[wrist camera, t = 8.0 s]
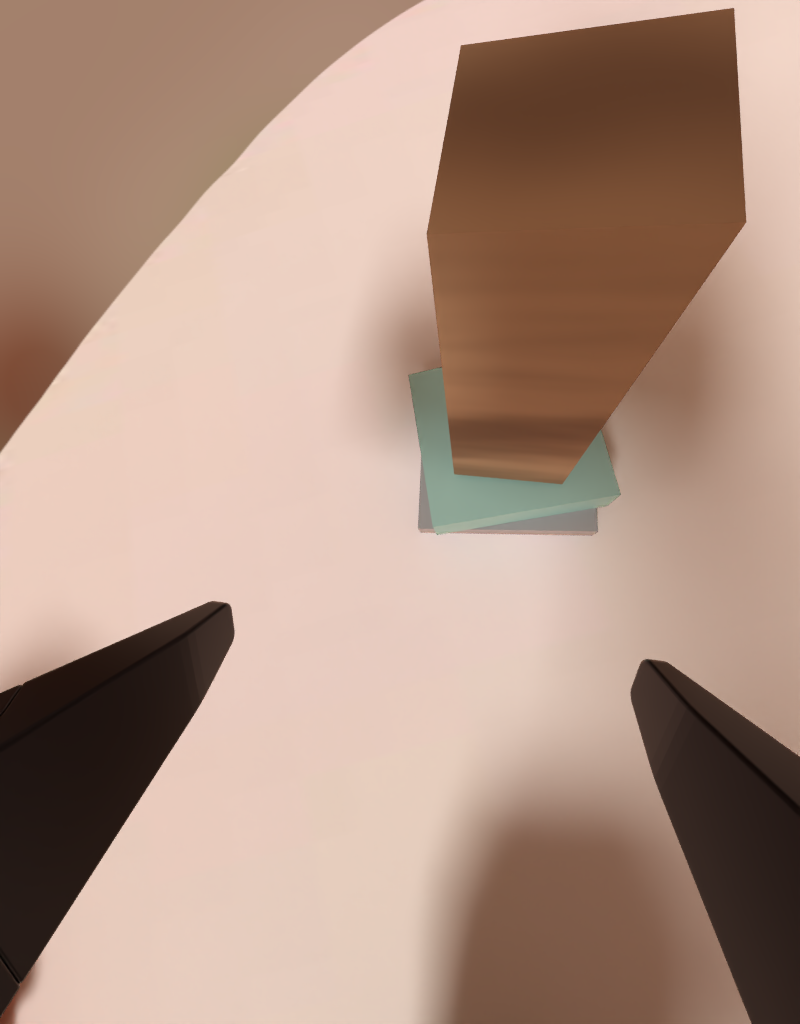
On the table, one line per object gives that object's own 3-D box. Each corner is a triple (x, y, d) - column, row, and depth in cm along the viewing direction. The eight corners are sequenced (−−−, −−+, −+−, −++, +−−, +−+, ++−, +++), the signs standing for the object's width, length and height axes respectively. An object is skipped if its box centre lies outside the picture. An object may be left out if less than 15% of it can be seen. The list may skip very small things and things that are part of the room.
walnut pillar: (562, 484, 18) (746, 222, 6) (454, 474, 19) (427, 233, 7) (568, 388, 19) (734, 7, 7) (466, 383, 20) (460, 45, 8)
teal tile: (606, 506, 19) (620, 494, 17) (437, 534, 21) (432, 527, 19) (564, 360, 22) (572, 336, 20) (414, 394, 23) (408, 374, 21)
